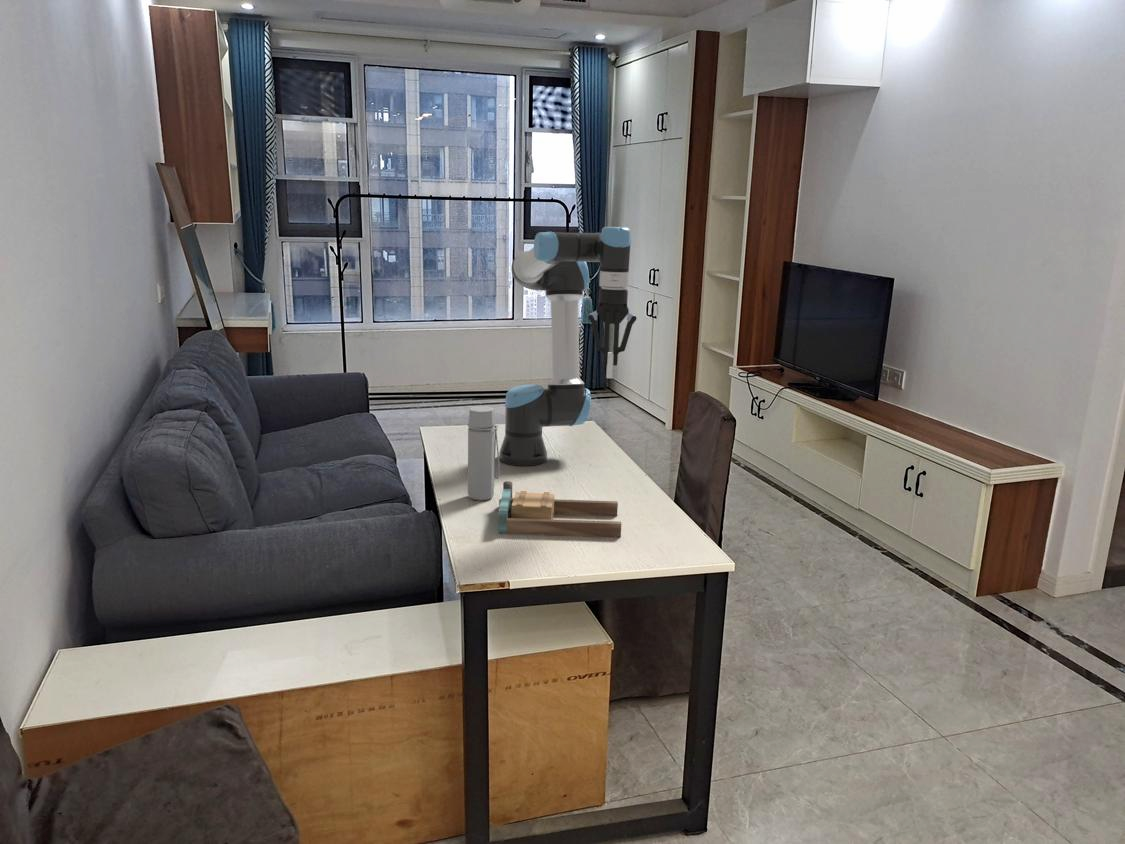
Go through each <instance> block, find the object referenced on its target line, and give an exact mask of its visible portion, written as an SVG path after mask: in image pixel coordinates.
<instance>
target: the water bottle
mask: <svg viewBox="0 0 1125 844" xmlns="http://www.w3.org/2000/svg"><path fill="white" fill-rule="evenodd" d="M495 416H496V415H495V409H494V407H491V406H488V405H487V406H486V405H485V406H484V405H482V406H481V405H478V406H477V405H475V406H472V407H470V408H469V414H468V423H467V427H468V428H467V496H468V497H469V499H471V500H473V501H479V502H481V501H488V500H491V499H492V498H493V497H494V495H495V492H494V491H495V479H497V480H498V479H499V478H500V476H501V475H500V474H501V463H500V462H501V461H500V459H499V452H500V451H499V443H498V434H497V433H498V432H497V431H498V428H499V427H498V425H497V424H496V420H495V419H496V417H495ZM496 451H497V453H496ZM496 454H497V455H496ZM496 456H497V465H498V473H497V476H496V475H495V473H496Z"/></svg>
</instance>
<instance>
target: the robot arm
mask: <svg viewBox="0 0 1125 844" xmlns="http://www.w3.org/2000/svg"><path fill="white" fill-rule="evenodd" d="M534 237H535V238H534V241H533V247H532V248H531V249H530V250H526V251H522V252H520V253H519V254H518V255H516V256H515V257H514V259H513V260H512V264H511V267H510V269H511V274H512V277H513V279H514V280H515V281H516V283H518V285H520V286H522V287H523V288H525V289H529V290H531V291H544V292H545V298H547V300H548V301H549V302H550V308H551V309H550V316H551V319H550V320H551V358H552V359H551V365H552V366H551V367H552V368H551V369H552V370H551V371H552V378H551V380H550V381H549V382H547V389H545V388H544V387H543V385H540V384H531V383H530V384H522V385H517V386H513V387H512V388H510V389H509V390H508V391H507V392H506V395H505V403H504V406H505V423H504V424H505V425H504V428H505V429H504V431H505V433H504V437H503V441H502V443H501V446H500V448H499V451H498V452H499V462H502V463H504V464H507V465H511V466H519V467H525V466H527V467H530V466H531V467H532V466H537V465H541V464H544V463H545V462H547V460H548V451H547V449H546V445H545V442H544V437H543V428H544V427H567V426H569V427H573V426H580V425H584V424H585V423H586V422H587V421H588V418H589V416H590V413H591V408H592V407H591V406H592V395H591V391H590V389H588V388H586V387H585V382H584V381H583V380H582V379H581V377H580V335H579V333H580V332H579V325H580V324H579V301H580V300H581V299H582V298H583V296H584V294H583V292H585V291H587V290H588V287H589V285H590V284H589V282H590V272H589V267H588V263H589V262H590V263H591V262H592V263H599V280H598V281H599V282H598V283H599V284H598V286H599V287H600V288H599V289H598V302H597V303H598V305H597V307H596V309H595V311H593V312H592V313H589V314H588V315H587V318H588V320H589V321H590V323H591V326H592V330H593V336H594V341H595V346H596V350H597V351H598V352H601V353H602V365H603V366H606V374H605V375H606V376H605V377H606V379H613V372H614V371H613V370H614V366H617V365H618V358H619V357H618V355H619V354H620V353H623V352H625V351H626V347H627V345H628V340H629V337H630V334H631V330H632V327H633V325H634V324H635V322H636V321H637V316H636V315H635V314H633V313H631V312H630V310H629V307H628V299H629V298H628V297H629V296H628V295H629V290H628V289H626V288H628V287H629V273H630V271H629V270H630V260H631V259H630V256H631V244H632V240H631V230H630V228H629V227H627V226H626V227H622V226H604V227H603V228H602V229H601V232H559V231H555V232H554V231H545V232H544V231H543V232H540V231H539V232H538V233H536V235H535V236H534ZM598 317H599V318H600V319H601V321H602V323H604V324H603V325H604V327H603V346H602V344H601V340H600V333H599V329H598V325H597V321H598ZM625 318H626V321H627V322H626V326H625V329H624V332H623V335H622V339H621V342H620V346H619V340H620V339H619V337H620V336H619V335H620V324H621V323H622V322H623V321H624V319H625ZM611 324H612V325H613V337H612V339H613V341H612V343H613V345H612V352H611V351H609V345H610V344H609V342H610V341H609V340H610V339H609V338H610V337H609V336H610V325H611Z"/></svg>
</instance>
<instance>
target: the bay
mask: <svg viewBox="0 0 1125 844" xmlns="http://www.w3.org/2000/svg"><path fill="white" fill-rule="evenodd" d="M502 486H503V487H502V495H501V498H500V499H498V501H499V502H498V506H499V507H498V529H497V530H498V534H499V535H500V534H503V535H504V534H505V535H506V534H507V535H508V534H509V535H532V534H533V535H534V536H535V535H539V536H541V535H540V534H544V535H543V536H565V535H568V536H569V537H572V536H573V537H574V536H575V537H599V538H600V537H604V538H605V537H606V538H622V537H621V536H622V521H614V520H613V521H612V520H582V519H581V520H579V519H578V520H577V519H554V518H553V519H521V518H511V517H510V516H511V508H512V503H513V500H514V497H513V481H507V480H506V481H503V483H502ZM618 503H619V502H618V501H617V500H616V501H615V500H592V499H590V500H589V499H587V500H586V499H559V498H558V499H555V498H554V515H580V516H605V517H606V516H608V517H609V516H611V517H614V516H615V517H616V516H618V507H619V504H618Z"/></svg>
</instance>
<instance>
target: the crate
mask: <svg viewBox="0 0 1125 844" xmlns="http://www.w3.org/2000/svg"><path fill="white" fill-rule="evenodd" d="M513 498H514V500H513V503H512V508H511V513H510V516H511V517H510V518H521V519H553V520H554V517H555V516H554V515H555V514H554V499H555V493H550V492H549V491H548V492H546V491H545V492H543V493H539V492H538V493H537V492H527V491H526V490H520V492H519V491H518V492H515V495H514V497H513Z"/></svg>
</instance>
